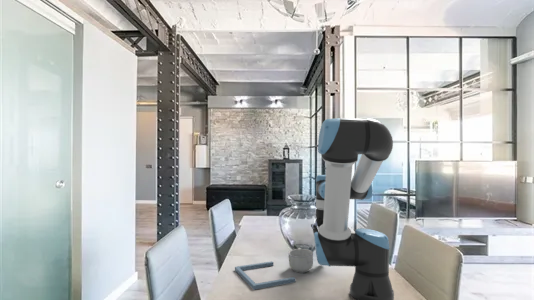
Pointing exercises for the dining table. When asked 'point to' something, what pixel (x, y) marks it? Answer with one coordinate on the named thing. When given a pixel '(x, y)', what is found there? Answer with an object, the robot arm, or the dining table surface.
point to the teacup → (301, 260)
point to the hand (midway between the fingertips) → (323, 259)
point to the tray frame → (263, 284)
